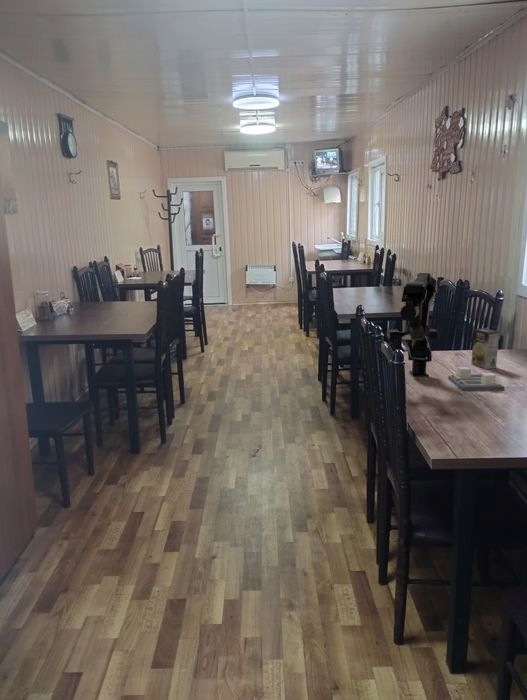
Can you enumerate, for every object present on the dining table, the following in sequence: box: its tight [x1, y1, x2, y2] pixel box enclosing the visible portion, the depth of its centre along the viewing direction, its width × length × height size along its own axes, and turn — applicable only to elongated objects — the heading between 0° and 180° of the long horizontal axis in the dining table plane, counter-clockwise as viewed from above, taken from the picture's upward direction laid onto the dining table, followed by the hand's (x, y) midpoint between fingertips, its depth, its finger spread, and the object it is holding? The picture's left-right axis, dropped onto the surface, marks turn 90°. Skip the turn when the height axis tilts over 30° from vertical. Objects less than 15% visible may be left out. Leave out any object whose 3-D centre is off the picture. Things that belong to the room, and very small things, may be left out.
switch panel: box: [447, 373, 505, 392], centre depth 221 cm, size 16×16×2 cm
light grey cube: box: [456, 366, 472, 378], centre depth 225 cm, size 4×4×4 cm
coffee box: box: [471, 327, 500, 370], centre depth 246 cm, size 9×6×16 cm
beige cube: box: [481, 372, 497, 384], centre depth 216 cm, size 4×4×4 cm
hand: (411, 356), depth 217 cm, fingers closed
